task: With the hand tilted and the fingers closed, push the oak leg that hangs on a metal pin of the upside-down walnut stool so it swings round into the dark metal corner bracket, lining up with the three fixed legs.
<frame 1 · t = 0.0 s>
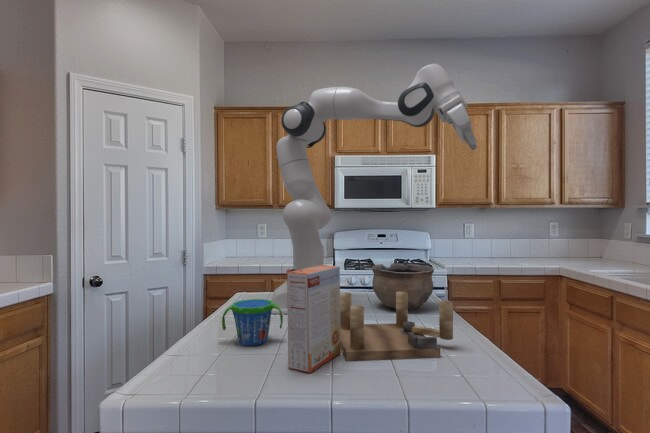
hand: (474, 146, 115), 54 cm above the counter, tool tilted 30°, fingers open, 8 cm apart
ceramic bowl: (402, 308, 137), on the counter
leg: (427, 316, 97), point 7 cm above the counter, hinge at 0.0°
cracker box: (315, 361, 85), on the counter
stool: (381, 343, 97), on the counter
snack cup: (252, 342, 98), on the counter
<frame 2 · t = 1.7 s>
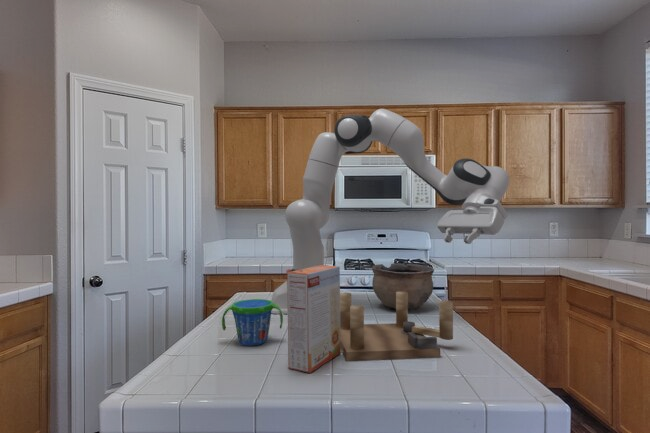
hand: (456, 241, 111), 25 cm above the counter, tool tilted 45°, fingers open, 6 cm apart
nothing on the counter moved.
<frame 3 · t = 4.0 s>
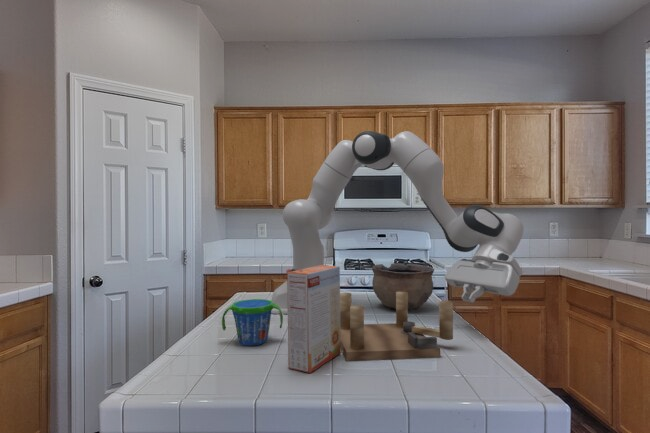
hand: (466, 300, 101), 10 cm above the counter, tool tilted 45°, fingers closed
nothing on the counter moved.
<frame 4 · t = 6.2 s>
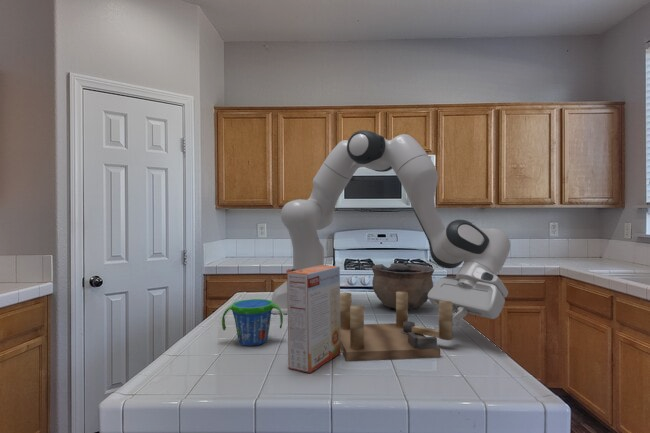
hand: (449, 322, 95), 6 cm above the counter, tool tilted 45°, fingers closed
leg: (426, 316, 97), point 7 cm above the counter, hinge at -1.6°, touching gripper
everything else where it was.
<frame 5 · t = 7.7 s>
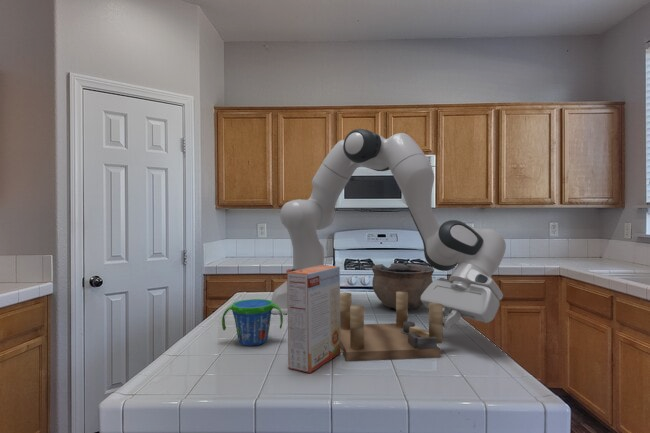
hand: (442, 326, 92), 6 cm above the counter, tool tilted 45°, fingers closed, pressing on leg
leg: (421, 318, 95), point 7 cm above the counter, hinge at -25.1°, touching gripper
everything else where it was.
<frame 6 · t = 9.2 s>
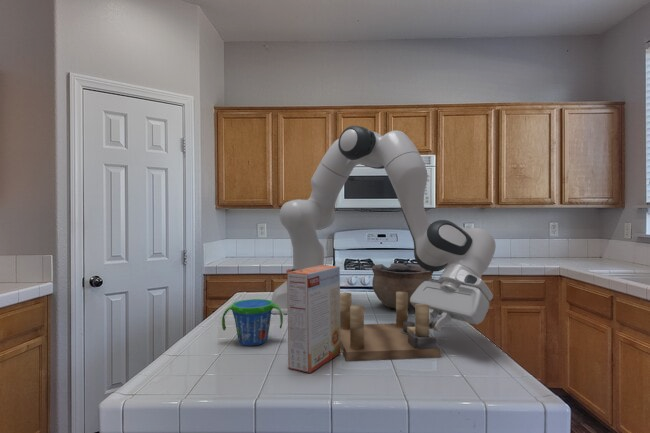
hand: (431, 328, 90), 6 cm above the counter, tool tilted 45°, fingers closed
leg: (415, 318, 95), point 7 cm above the counter, hinge at -46.2°, touching gripper, stool
everything else where it was.
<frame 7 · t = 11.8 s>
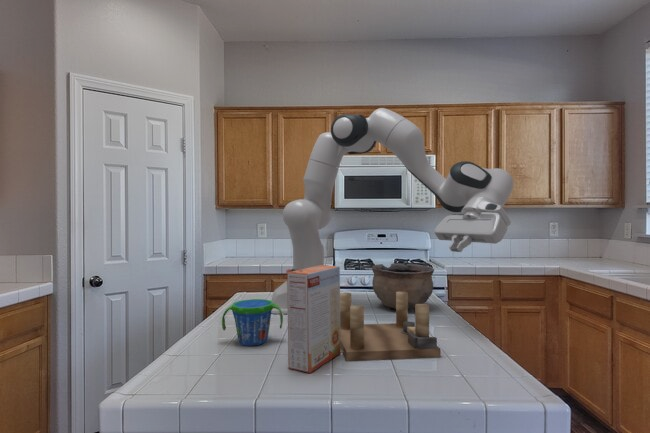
hand: (454, 250, 102), 24 cm above the counter, tool tilted 45°, fingers closed
leg: (415, 318, 95), point 7 cm above the counter, hinge at -46.1°
everything else where it was.
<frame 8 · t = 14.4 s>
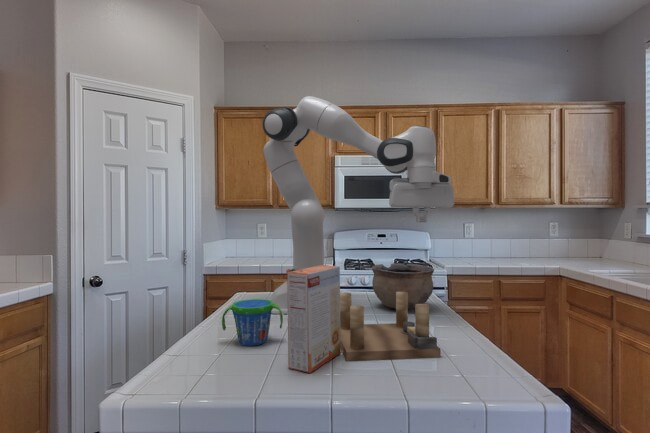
hand: (421, 222, 118), 31 cm above the counter, tool pointing down, fingers closed
nothing on the counter moved.
at the end: leg at -46° (first picture: +0°) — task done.
